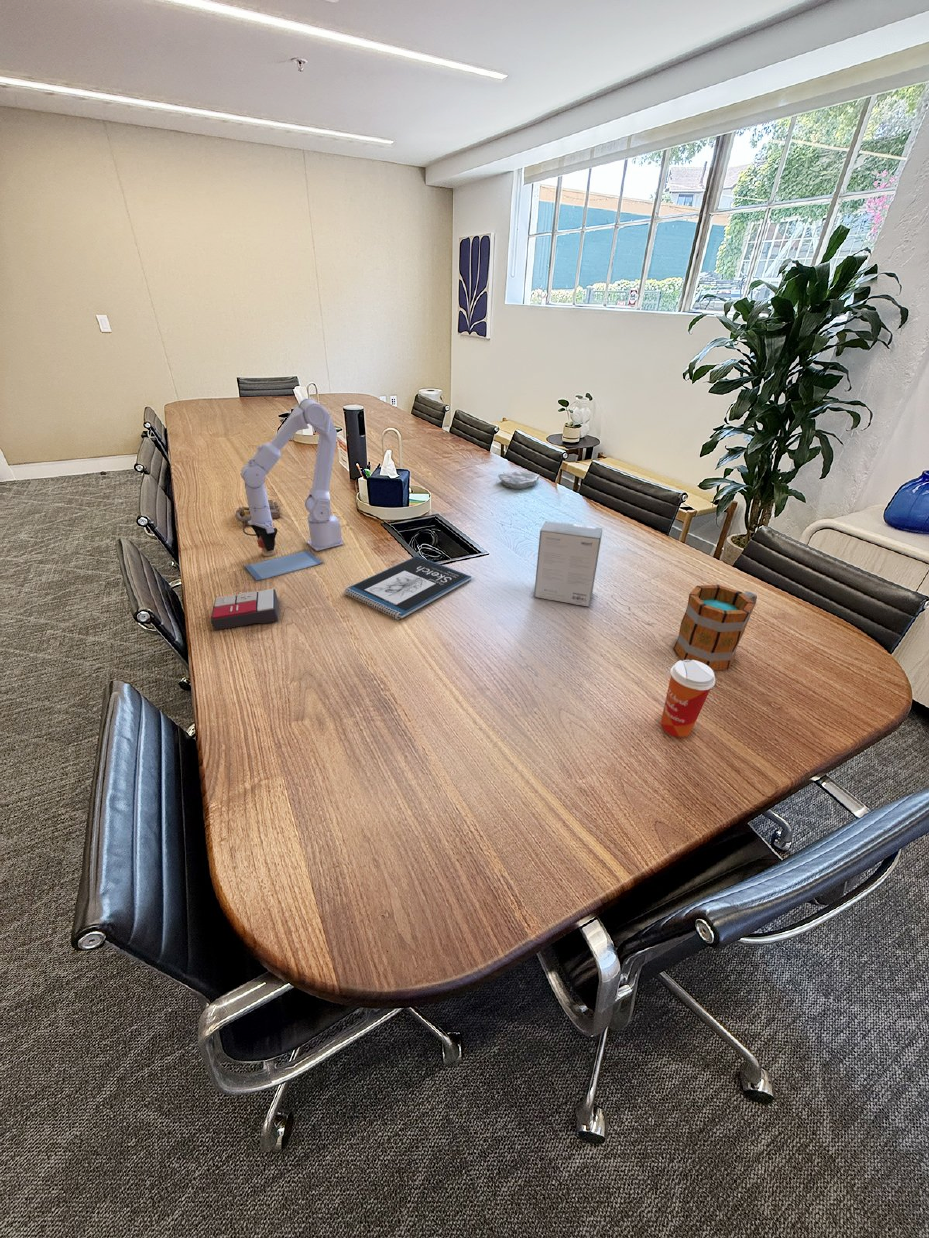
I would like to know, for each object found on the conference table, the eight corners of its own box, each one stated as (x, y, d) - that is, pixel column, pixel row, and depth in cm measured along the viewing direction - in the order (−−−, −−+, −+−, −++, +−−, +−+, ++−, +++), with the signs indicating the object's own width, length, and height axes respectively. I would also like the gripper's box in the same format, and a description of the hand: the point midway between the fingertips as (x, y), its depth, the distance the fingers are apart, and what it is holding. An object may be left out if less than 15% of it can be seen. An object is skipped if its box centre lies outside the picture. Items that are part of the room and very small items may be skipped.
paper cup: (648, 714, 102) (665, 658, 95) (685, 712, 103) (704, 656, 96) (665, 743, 96) (683, 685, 88) (704, 741, 96) (726, 683, 89)
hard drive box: (592, 594, 143) (604, 528, 133) (589, 607, 137) (601, 538, 127) (538, 585, 148) (545, 519, 137) (532, 597, 141) (539, 529, 131)
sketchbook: (471, 580, 150) (471, 574, 148) (398, 622, 129) (398, 615, 128) (417, 559, 161) (417, 552, 159) (342, 594, 140) (342, 588, 139)
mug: (707, 678, 113) (728, 620, 105) (660, 646, 122) (675, 592, 114) (763, 654, 121) (786, 599, 113) (715, 626, 131) (733, 574, 123)
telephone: (239, 540, 169) (236, 528, 167) (235, 508, 195) (233, 497, 192) (286, 536, 174) (285, 524, 172) (276, 505, 200) (275, 494, 198)
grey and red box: (213, 596, 131) (274, 586, 135) (218, 610, 133) (278, 600, 137) (209, 618, 122) (274, 606, 126) (214, 632, 125) (278, 621, 128)
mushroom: (273, 548, 165) (270, 529, 161) (279, 554, 161) (276, 535, 158) (257, 552, 162) (253, 533, 158) (263, 558, 158) (259, 538, 155)
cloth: (308, 551, 164) (308, 550, 164) (322, 563, 157) (322, 562, 156) (244, 567, 154) (244, 566, 153) (256, 581, 146) (256, 580, 146)
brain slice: (512, 475, 239) (512, 468, 237) (544, 482, 231) (545, 475, 229) (489, 485, 225) (489, 478, 224) (522, 493, 217) (523, 486, 215)
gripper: (237, 501, 156) (247, 542, 163) (253, 515, 146) (262, 558, 153) (260, 496, 159) (268, 537, 167) (277, 510, 150) (285, 552, 157)
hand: (267, 547), depth 160 cm, fingers closed on mushroom, 5 cm apart
